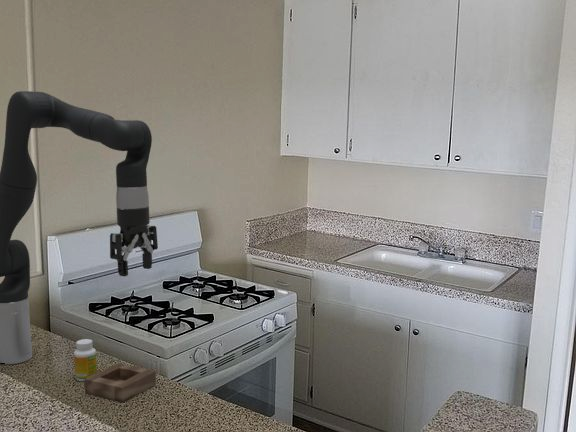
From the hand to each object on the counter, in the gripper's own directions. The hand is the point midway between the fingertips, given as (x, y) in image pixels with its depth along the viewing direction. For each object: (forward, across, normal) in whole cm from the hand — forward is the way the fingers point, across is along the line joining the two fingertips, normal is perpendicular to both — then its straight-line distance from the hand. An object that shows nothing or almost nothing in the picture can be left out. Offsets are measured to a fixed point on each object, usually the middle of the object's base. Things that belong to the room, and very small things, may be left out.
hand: (135, 272), depth 160 cm
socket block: (+29, +3, -4) cm, 30 cm away
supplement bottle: (+30, +1, -17) cm, 34 cm away
